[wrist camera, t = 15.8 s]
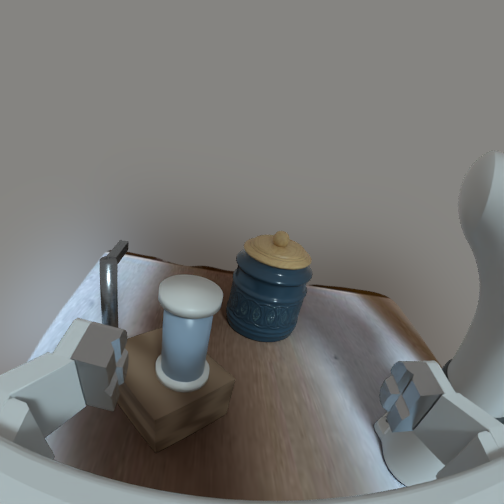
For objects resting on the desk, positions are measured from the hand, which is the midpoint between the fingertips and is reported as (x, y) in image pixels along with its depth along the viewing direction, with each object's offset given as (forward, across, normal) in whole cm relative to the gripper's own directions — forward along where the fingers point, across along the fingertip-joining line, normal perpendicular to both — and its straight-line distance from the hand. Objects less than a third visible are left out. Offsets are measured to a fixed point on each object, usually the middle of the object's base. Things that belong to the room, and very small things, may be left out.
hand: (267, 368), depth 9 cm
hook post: (+22, +13, +21) cm, 32 cm away
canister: (+41, -8, +29) cm, 51 cm away
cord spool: (+19, +4, +21) cm, 28 cm away
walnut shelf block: (+19, +6, +28) cm, 34 cm away
